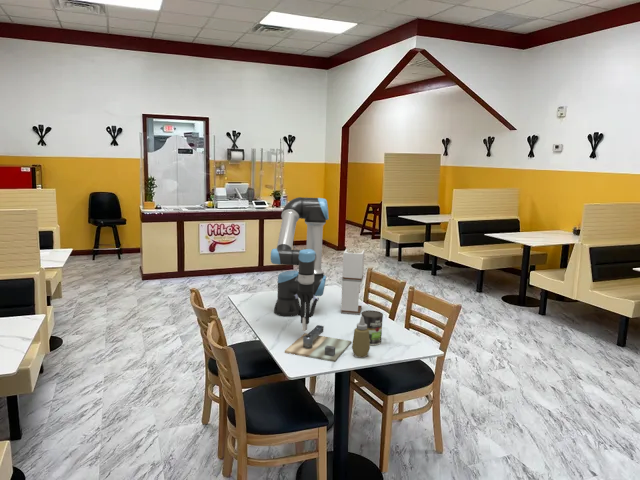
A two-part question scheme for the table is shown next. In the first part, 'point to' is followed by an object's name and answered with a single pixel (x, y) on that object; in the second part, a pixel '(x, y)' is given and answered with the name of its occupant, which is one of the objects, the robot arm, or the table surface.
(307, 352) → the plate
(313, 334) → the latch bar
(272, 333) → the table surface
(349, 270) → the white square tower
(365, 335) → the squeeze bottle
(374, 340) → the coffee can
